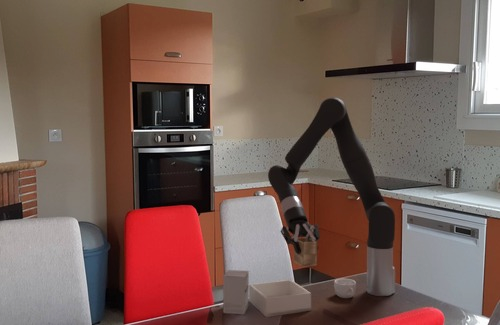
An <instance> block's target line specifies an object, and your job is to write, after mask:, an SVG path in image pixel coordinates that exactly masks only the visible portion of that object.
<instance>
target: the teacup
mask: <svg viewBox="0 0 500 325" xmlns="http://www.w3.org/2000/svg"><path fill="white" fill-rule="evenodd" d="M333 286H334V293H335V294H336V295H337V296H338V297H339V298H341V299H350V298H352V297H354V295H355V294H356V289H357V282H356V281H355V280H354V279H350V278H336V279H335V280H334V284H333Z"/></svg>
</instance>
